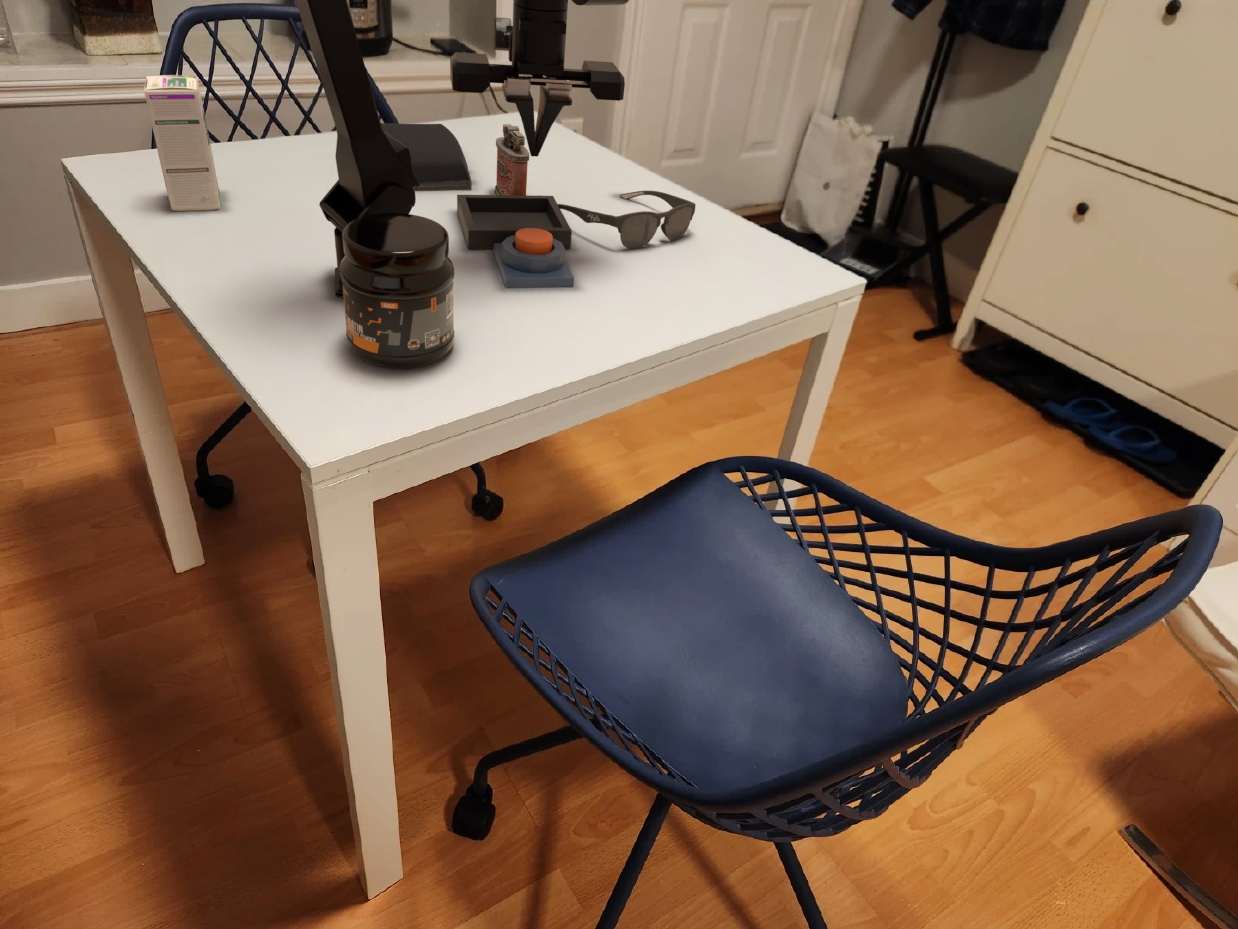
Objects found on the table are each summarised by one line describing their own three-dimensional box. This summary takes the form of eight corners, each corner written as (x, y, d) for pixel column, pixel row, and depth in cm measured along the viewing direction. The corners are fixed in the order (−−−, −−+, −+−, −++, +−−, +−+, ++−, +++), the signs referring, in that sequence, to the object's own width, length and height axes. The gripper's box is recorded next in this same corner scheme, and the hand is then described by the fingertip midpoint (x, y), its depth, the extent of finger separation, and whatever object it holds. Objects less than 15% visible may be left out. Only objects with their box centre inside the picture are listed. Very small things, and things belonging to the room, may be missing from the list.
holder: (570, 249, 110) (572, 230, 109) (468, 249, 107) (468, 230, 105) (552, 213, 119) (553, 195, 118) (457, 212, 116) (457, 194, 114)
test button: (555, 256, 101) (556, 242, 100) (518, 256, 100) (518, 242, 99) (548, 241, 105) (548, 227, 104) (512, 241, 104) (512, 227, 103)
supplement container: (331, 331, 87) (320, 217, 80) (429, 313, 92) (426, 204, 85) (369, 382, 80) (360, 262, 73) (472, 360, 86) (473, 246, 79)
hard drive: (383, 190, 119) (381, 161, 116) (366, 145, 133) (365, 118, 131) (477, 189, 123) (477, 160, 121) (451, 145, 137) (451, 119, 135)
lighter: (490, 190, 124) (491, 118, 118) (512, 189, 125) (514, 118, 119) (508, 211, 118) (511, 137, 112) (532, 210, 119) (535, 136, 113)
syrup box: (221, 209, 108) (200, 87, 99) (169, 211, 106) (142, 87, 97) (219, 193, 112) (199, 74, 103) (169, 194, 110) (144, 73, 101)
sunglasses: (614, 256, 109) (617, 217, 107) (537, 223, 120) (537, 186, 117) (705, 237, 119) (710, 201, 116) (626, 208, 129) (628, 173, 127)
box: (573, 287, 101) (575, 263, 100) (505, 288, 99) (506, 263, 97) (556, 251, 109) (558, 229, 107) (493, 252, 107) (493, 228, 105)
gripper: (612, -2, 99) (600, 136, 108) (446, -16, 95) (449, 130, 104) (632, 18, 90) (617, 167, 100) (451, 4, 86) (453, 161, 96)
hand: (534, 155), depth 100 cm, fingers closed
